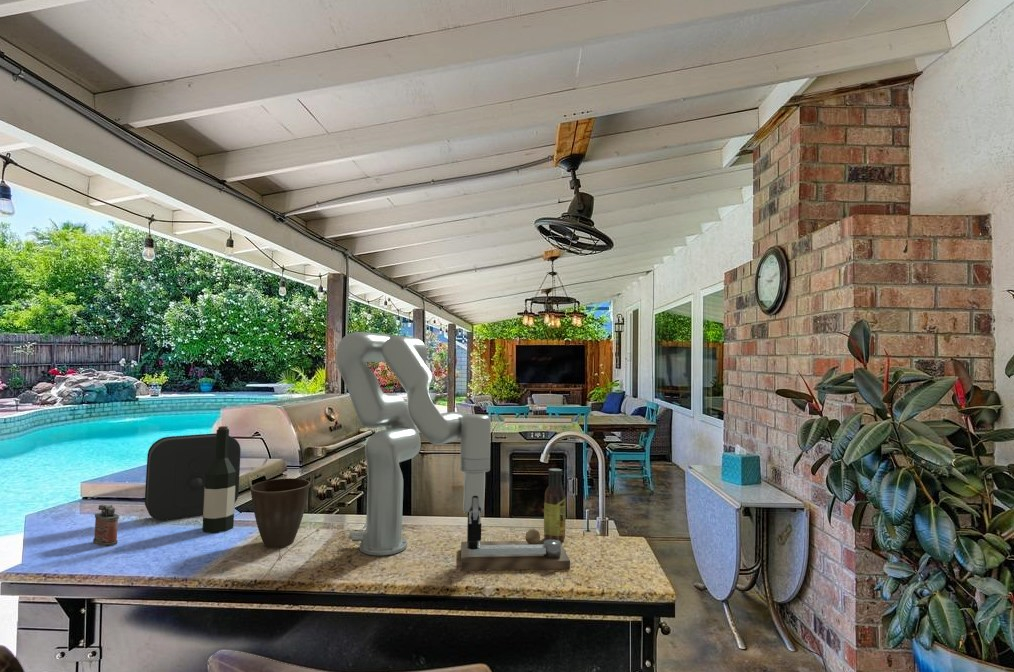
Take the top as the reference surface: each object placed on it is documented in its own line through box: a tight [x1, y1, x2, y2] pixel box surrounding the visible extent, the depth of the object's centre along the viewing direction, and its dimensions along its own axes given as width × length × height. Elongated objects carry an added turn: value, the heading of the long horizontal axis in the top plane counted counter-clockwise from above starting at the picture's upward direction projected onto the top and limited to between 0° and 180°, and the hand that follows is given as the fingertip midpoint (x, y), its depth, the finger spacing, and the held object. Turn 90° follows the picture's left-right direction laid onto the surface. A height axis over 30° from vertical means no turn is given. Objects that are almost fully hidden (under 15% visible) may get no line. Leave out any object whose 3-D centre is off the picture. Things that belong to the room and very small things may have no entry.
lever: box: [466, 515, 562, 558], centre depth 125 cm, size 24×4×10 cm, turn 95°
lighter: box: [92, 504, 120, 548], centre depth 135 cm, size 8×3×10 cm, turn 65°
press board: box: [460, 528, 571, 572], centre depth 129 cm, size 27×14×6 cm, turn 95°
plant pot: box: [250, 477, 311, 549], centre depth 137 cm, size 15×15×16 cm
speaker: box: [144, 432, 242, 522], centre depth 161 cm, size 25×9×25 cm, turn 131°
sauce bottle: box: [543, 467, 567, 542], centre depth 145 cm, size 7×6×20 cm
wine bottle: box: [201, 425, 236, 534], centre depth 148 cm, size 8×8×30 cm
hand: (474, 533), depth 124 cm, fingers open, 8 cm apart
